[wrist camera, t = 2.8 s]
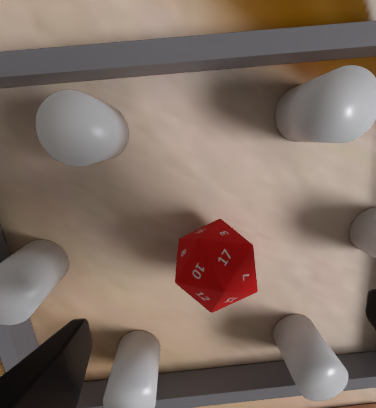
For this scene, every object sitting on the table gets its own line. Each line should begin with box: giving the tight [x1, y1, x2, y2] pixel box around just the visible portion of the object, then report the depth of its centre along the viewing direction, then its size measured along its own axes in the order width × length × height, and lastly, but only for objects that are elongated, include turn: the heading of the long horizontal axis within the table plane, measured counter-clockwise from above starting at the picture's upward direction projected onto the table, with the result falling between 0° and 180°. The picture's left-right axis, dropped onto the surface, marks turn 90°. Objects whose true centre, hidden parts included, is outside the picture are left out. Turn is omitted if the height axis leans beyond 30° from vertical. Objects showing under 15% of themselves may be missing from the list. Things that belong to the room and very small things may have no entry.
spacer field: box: [0, 21, 376, 408], centre depth 11 cm, size 22×18×3 cm
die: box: [175, 219, 257, 312], centre depth 11 cm, size 4×3×4 cm
